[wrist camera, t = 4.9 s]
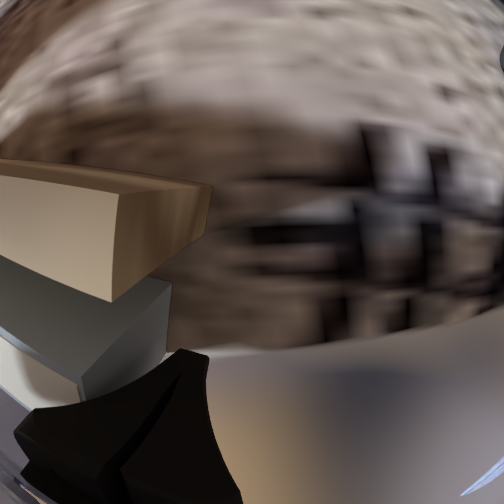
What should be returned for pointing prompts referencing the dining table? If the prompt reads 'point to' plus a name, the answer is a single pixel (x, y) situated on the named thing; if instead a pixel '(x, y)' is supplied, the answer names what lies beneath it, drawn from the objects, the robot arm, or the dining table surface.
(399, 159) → the dining table surface
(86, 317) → the boxed book
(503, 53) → the storage bin
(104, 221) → the shelf wall
